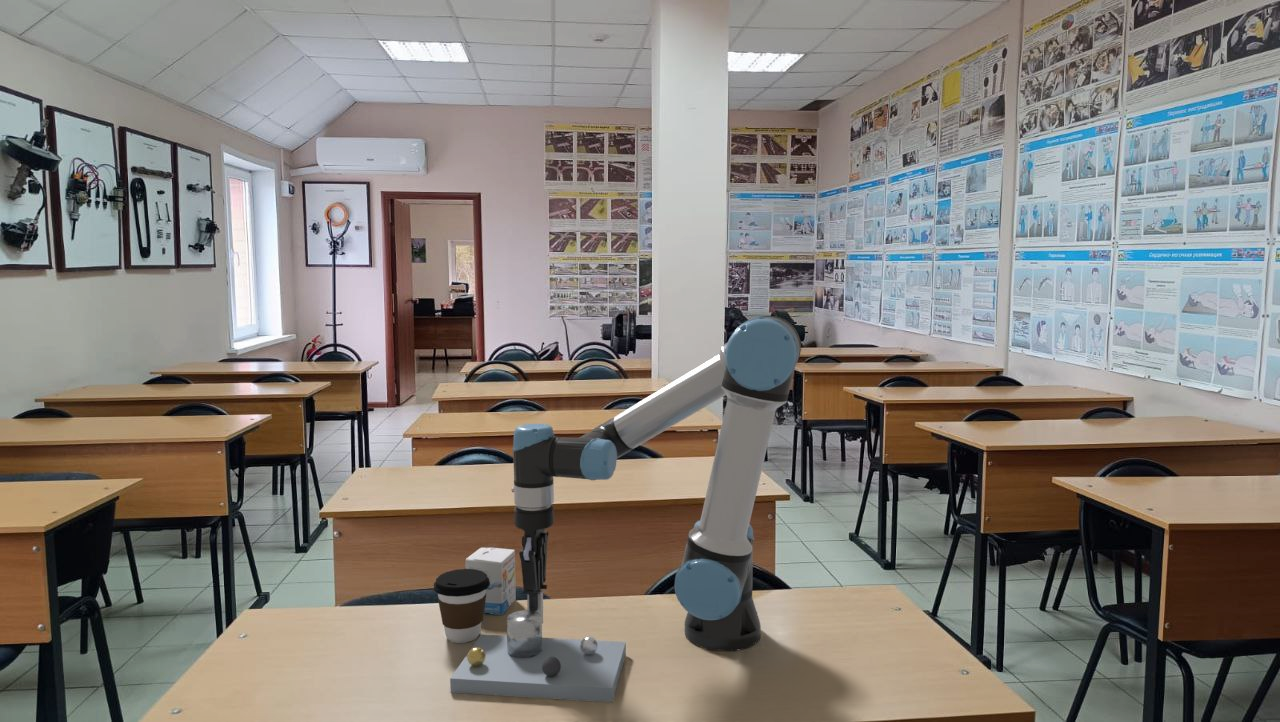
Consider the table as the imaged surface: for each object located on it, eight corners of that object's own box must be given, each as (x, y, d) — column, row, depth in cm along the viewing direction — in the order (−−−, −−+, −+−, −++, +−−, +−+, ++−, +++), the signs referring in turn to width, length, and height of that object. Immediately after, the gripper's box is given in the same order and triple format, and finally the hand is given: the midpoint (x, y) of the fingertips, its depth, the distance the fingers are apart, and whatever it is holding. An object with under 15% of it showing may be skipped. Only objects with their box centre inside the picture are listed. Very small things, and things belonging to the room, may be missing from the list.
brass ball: (488, 661, 140) (487, 644, 140) (482, 670, 137) (482, 652, 137) (470, 660, 140) (470, 643, 140) (464, 669, 137) (464, 651, 137)
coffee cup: (472, 652, 149) (471, 591, 148) (423, 644, 152) (421, 584, 151) (501, 628, 159) (500, 571, 158) (454, 621, 163) (452, 565, 161)
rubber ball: (562, 671, 136) (562, 653, 136) (558, 680, 133) (558, 662, 133) (544, 670, 137) (544, 652, 136) (540, 679, 134) (540, 661, 133)
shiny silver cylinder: (545, 641, 147) (545, 611, 146) (537, 658, 141) (537, 625, 140) (512, 640, 148) (512, 609, 147) (502, 656, 141) (502, 624, 141)
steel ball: (599, 650, 144) (599, 633, 144) (596, 658, 141) (596, 641, 141) (582, 649, 145) (582, 632, 144) (578, 657, 141) (578, 640, 141)
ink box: (502, 615, 165) (501, 562, 164) (464, 612, 167) (463, 559, 166) (517, 599, 174) (516, 548, 172) (481, 596, 175) (480, 545, 174)
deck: (625, 654, 148) (625, 642, 148) (612, 702, 131) (612, 688, 131) (481, 646, 151) (481, 634, 151) (450, 692, 134) (450, 678, 134)
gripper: (524, 495, 157) (525, 609, 159) (504, 514, 144) (506, 637, 146) (560, 496, 156) (561, 611, 158) (544, 516, 143) (546, 640, 145)
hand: (535, 623), depth 152 cm, fingers closed
